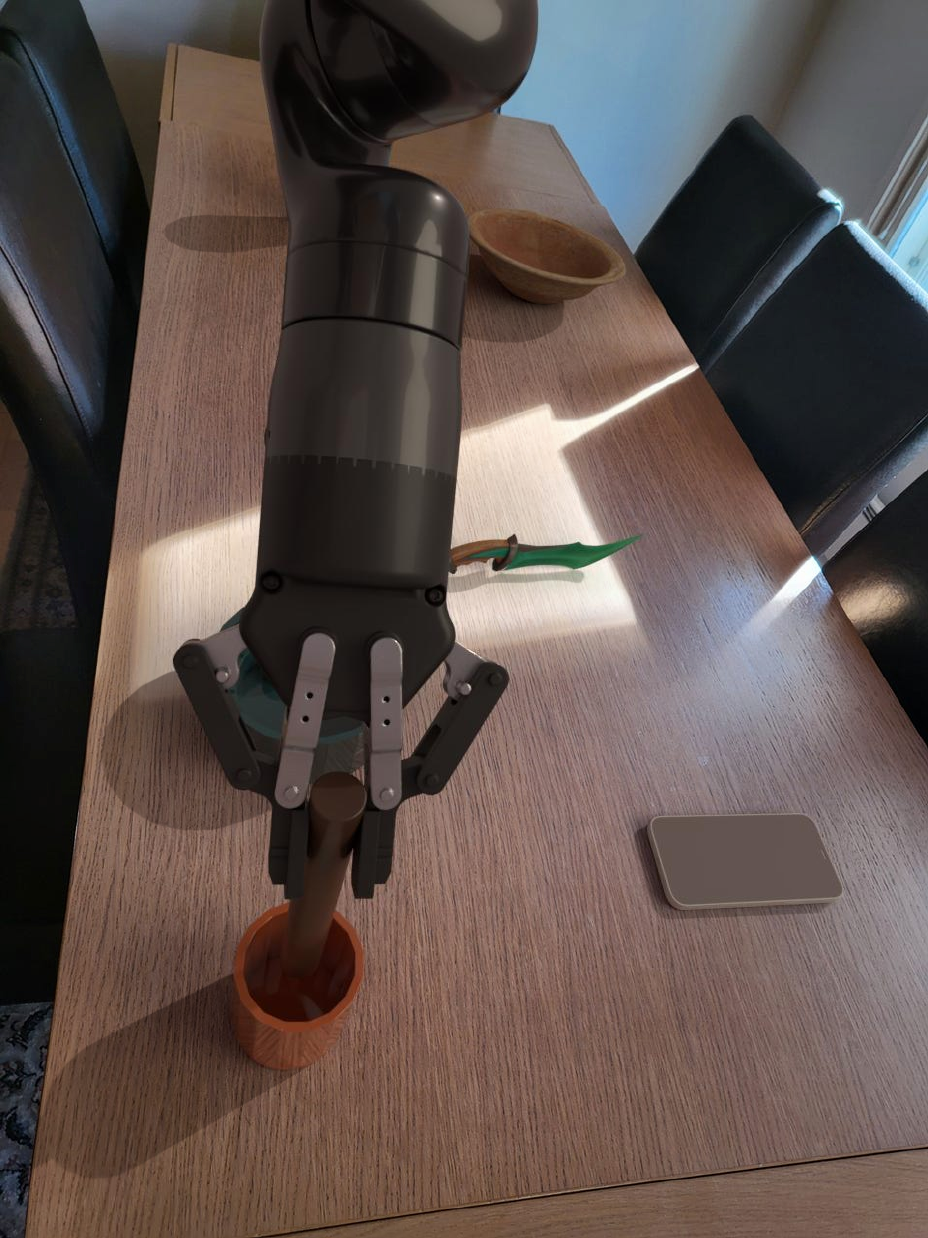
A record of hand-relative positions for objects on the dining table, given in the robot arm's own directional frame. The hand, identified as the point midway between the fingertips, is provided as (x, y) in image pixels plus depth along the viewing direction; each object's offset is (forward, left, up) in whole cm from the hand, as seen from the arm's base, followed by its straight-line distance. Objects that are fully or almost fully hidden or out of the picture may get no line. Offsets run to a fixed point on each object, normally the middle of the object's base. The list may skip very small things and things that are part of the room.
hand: (328, 890), depth 34 cm
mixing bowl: (+9, +23, -23) cm, 33 cm away
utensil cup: (+1, +2, -23) cm, 23 cm away
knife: (+36, +32, -23) cm, 53 cm away
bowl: (+65, +84, -23) cm, 108 cm away
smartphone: (+37, -1, -23) cm, 43 cm away
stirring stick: (+1, +2, -14) cm, 14 cm away
